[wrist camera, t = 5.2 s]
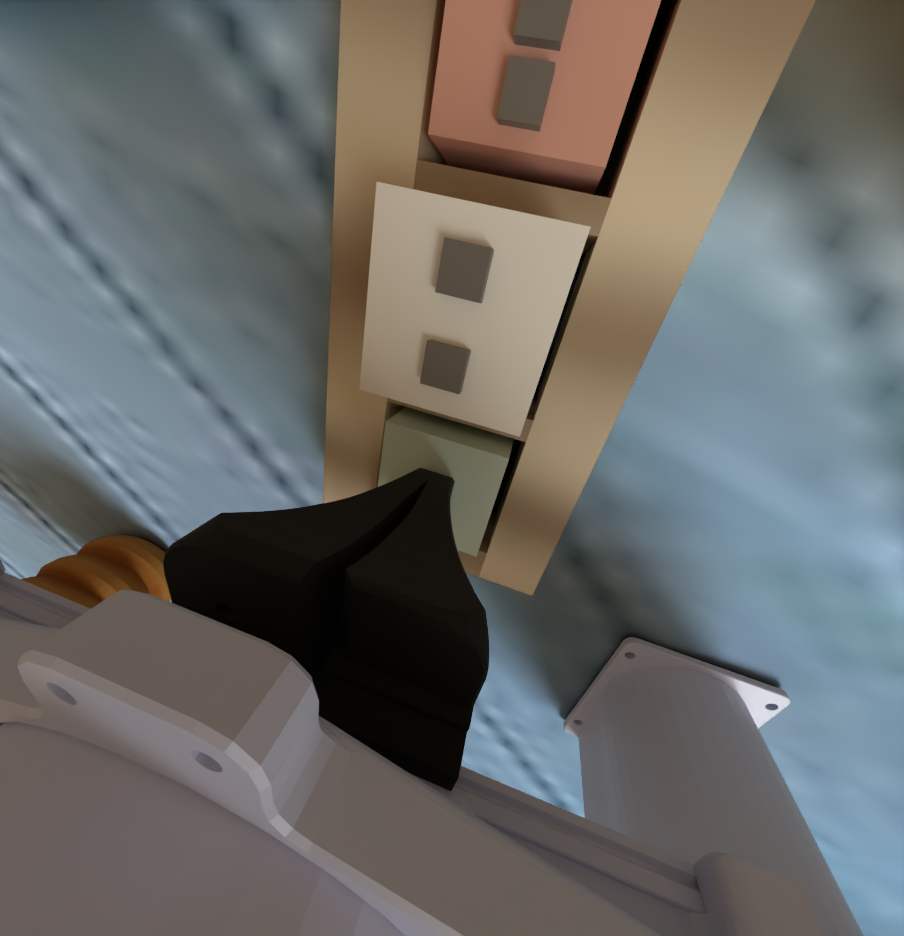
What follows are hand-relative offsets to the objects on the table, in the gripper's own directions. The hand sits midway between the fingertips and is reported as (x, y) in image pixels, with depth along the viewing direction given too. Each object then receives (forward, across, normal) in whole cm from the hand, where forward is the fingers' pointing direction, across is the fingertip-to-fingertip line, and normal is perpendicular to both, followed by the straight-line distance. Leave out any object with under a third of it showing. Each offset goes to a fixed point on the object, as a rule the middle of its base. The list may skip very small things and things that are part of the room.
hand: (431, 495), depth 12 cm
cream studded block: (+1, 0, -6) cm, 6 cm away
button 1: (+3, 0, 0) cm, 3 cm away
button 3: (+4, 0, -12) cm, 13 cm away
